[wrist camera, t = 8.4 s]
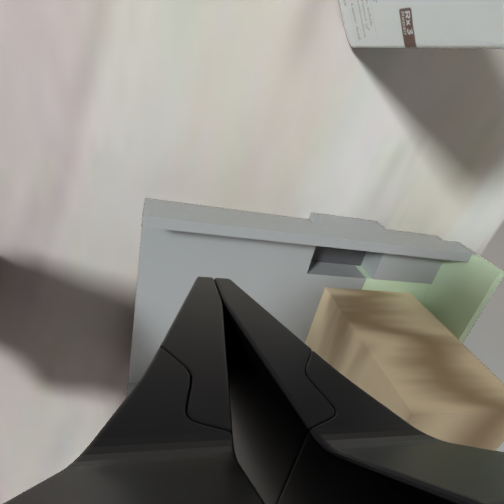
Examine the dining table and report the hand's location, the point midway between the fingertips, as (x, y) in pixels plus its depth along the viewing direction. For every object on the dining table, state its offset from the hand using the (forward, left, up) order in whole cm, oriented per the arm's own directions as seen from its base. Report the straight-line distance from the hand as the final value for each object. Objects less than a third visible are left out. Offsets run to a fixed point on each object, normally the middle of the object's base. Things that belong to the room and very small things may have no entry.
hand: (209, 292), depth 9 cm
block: (+14, -9, -11) cm, 20 cm away
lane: (+8, -9, -13) cm, 18 cm away
